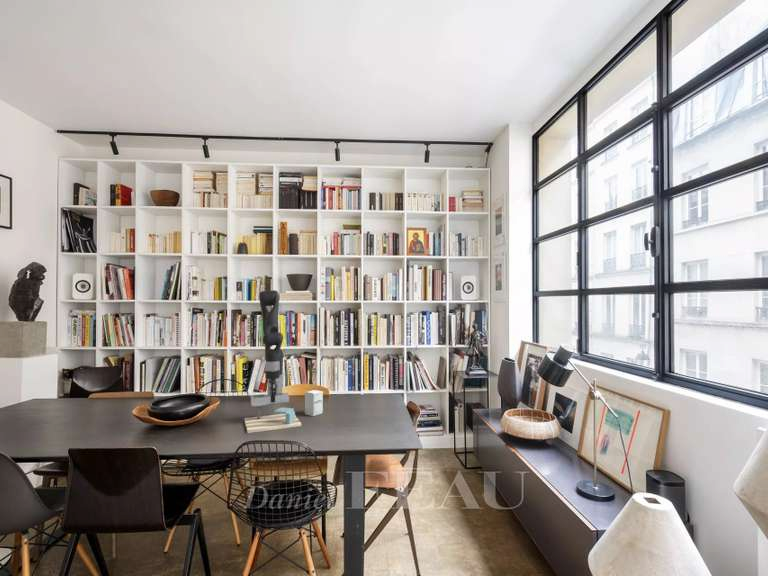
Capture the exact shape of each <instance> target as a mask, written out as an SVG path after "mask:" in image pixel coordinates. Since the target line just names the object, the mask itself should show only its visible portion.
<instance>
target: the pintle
mask: <svg viewBox="0 0 768 576" xmlns="http://www.w3.org/2000/svg"><path fill="white" fill-rule="evenodd" d="M261 411H262V407H261V406H256V417H257V419H261V415H262V413H261Z"/></svg>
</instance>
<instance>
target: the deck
mask: <svg viewBox="0 0 768 576" xmlns="http://www.w3.org/2000/svg"><path fill="white" fill-rule="evenodd" d="M243 420H244V421H243V422H244V425H245V429H246V433H247V434H251V433H257V432H259V433H260V432H266V431H271V430H272V431H273V430H282V429H289V428H295V427H302V422H301V421H300V419H299V418H298V417H297V416H296V415H295V421H294V422H293V423H291V424H286V414H281V413H276V414H270V415H262V416H261V419H257V416H254V417H253V416H252V417H251V416H250V417H244V418H243Z"/></svg>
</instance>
